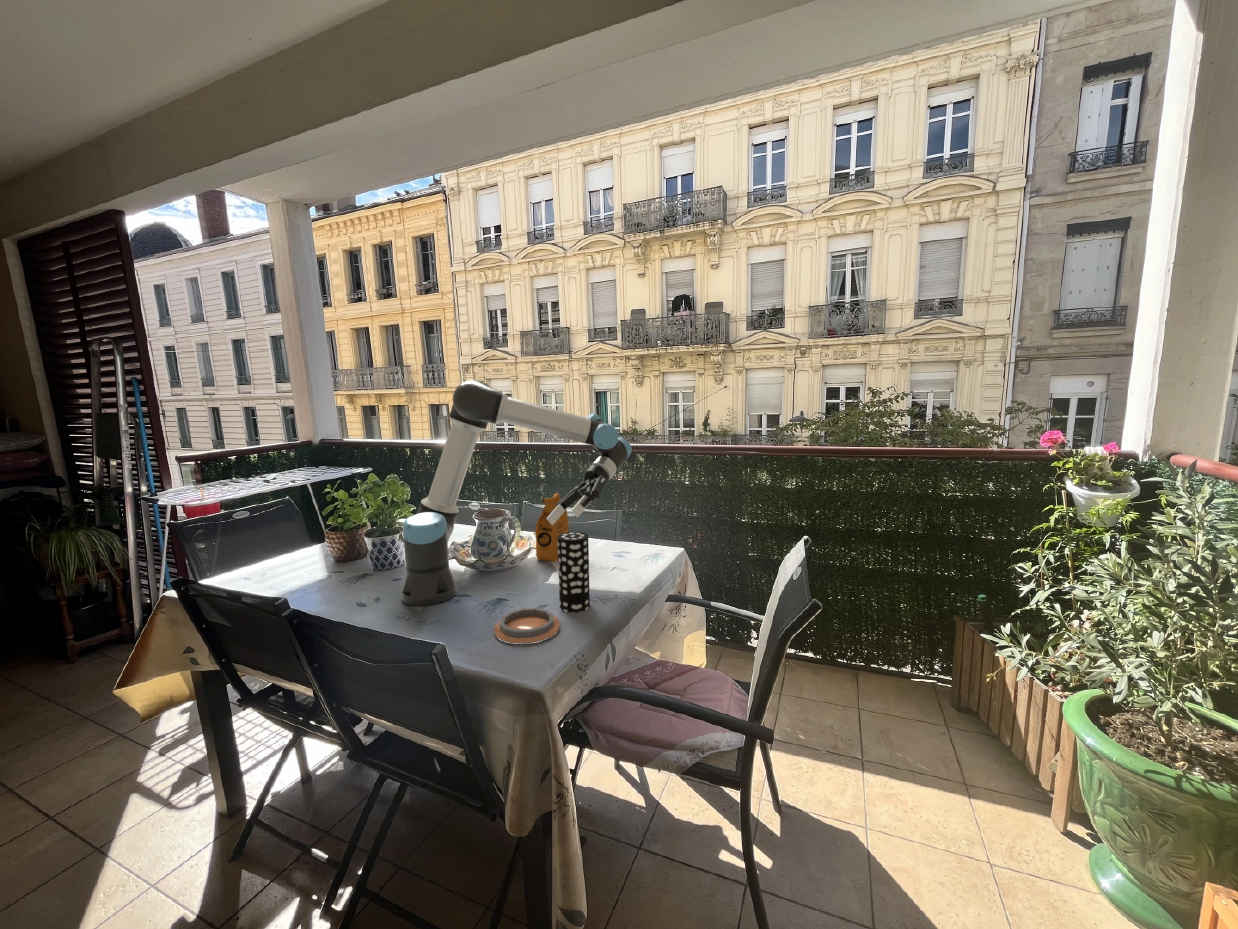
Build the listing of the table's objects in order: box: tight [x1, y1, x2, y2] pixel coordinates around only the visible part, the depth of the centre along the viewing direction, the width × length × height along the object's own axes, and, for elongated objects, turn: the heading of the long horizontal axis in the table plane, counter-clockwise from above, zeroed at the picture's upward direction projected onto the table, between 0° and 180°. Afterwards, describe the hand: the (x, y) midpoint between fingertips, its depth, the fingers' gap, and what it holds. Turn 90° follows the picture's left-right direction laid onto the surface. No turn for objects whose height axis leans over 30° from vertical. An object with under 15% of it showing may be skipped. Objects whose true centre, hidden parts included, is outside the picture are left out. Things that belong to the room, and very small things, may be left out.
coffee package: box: [534, 492, 570, 563], centre depth 180 cm, size 10×12×22 cm
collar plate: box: [494, 607, 561, 644], centre depth 127 cm, size 16×16×3 cm
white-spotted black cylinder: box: [557, 531, 591, 614], centre depth 139 cm, size 8×8×20 cm
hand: (561, 517), depth 149 cm, fingers open, 13 cm apart
